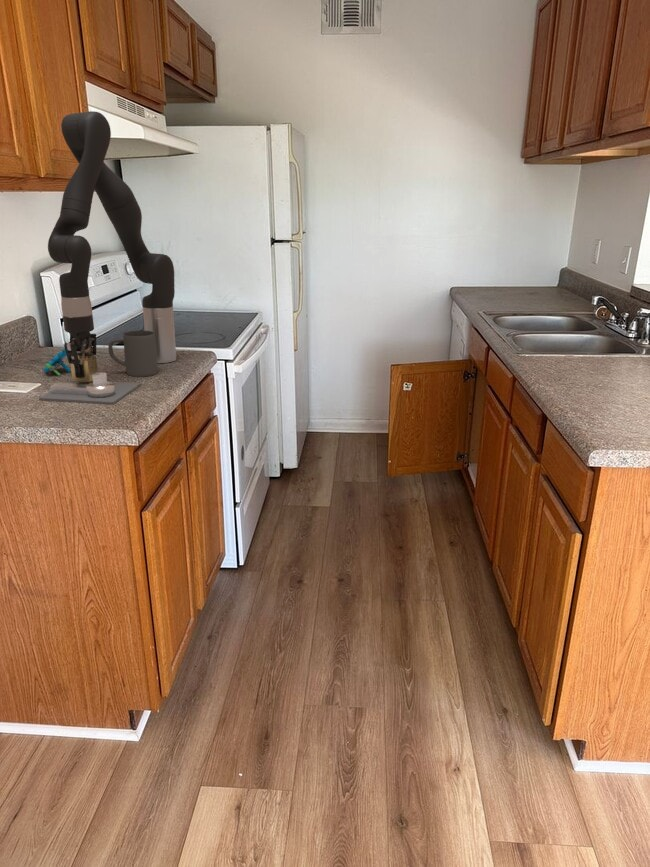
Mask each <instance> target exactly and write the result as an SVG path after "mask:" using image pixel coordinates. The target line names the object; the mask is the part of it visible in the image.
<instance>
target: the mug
mask: <svg viewBox="0 0 650 867" xmlns="http://www.w3.org/2000/svg"><path fill="white" fill-rule="evenodd" d="M122 337H123V338H115V339H114V338H113V339H112V340H109V342H108V353H109V356H110V358H111V359H112V360H113V361H114V362H115V363H117V364H119V365H121V366H124V367H125V369H126V374H127V375H128V376H130V377H135V378H136V377H137V378H143V377H150V376H154V375H156V374H158V372H159V371H158V370H159V368H158V367H159V366H158V363H157V350H156V339H155V333H154V332H152V331H145V329H143V330H142V329H141V330H132V331H131V330H130V331H126V332H123V336H122ZM116 343H123V350H124V361H122V360H120V359H119V358H118V357H117V355H115V354H114V350H113V349H114V348H113V345H114V344H116Z"/></svg>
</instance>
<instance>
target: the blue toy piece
mask: <svg viewBox="0 0 650 867" xmlns="http://www.w3.org/2000/svg"><path fill="white" fill-rule="evenodd" d="M65 357H67V355H66V351H65V347H64V348H63V349H62V350H61V351H59V352H58V353H57V354H56V355H55V356H53V357H52V358H51V360H50V361H49V362H47V363H45V365H44V368H43V371H44V372H45V373H47V372H54V373H55V374H56V375H57V376H59V377H60V376H61V373H60V372H59V371H58V370H57V369H58V368H59V367H62V368H63V369H64V370H66V372H68V373H70V372H71V367H69V366H68V365H66V364H65V361H64V359H65Z"/></svg>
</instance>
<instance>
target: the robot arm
mask: <svg viewBox="0 0 650 867" xmlns="http://www.w3.org/2000/svg"><path fill="white" fill-rule="evenodd" d="M60 127H61V133H62V136H63V139H64V141H65V143H66V145H67V147H68V148H69V150H70V151H71V154H72V155H73V157H74V158H75V160H76V161H77V163H78V166H77V167H76V169H75V171H74V173H73V174H72V175H71V177H70V179H69V181H68V182H67V184H66V186H65V188H64V191H63V195H62V200H61V207H60V213H59V217H58V219H57V220H56V223H55V224H54V227H53V229H52V231H51V234H50V236H49V239H48V241H47V251H48V252H47V253H48V255H49V256H50V258H51V260H52V261H54V262H56V263H60V264H71V267H70V268H71V269H70V271H69V272H64V273H62V274H60V275H59V278H58V280H59V289H60V290H59V291H60V296H61V297H60V298H61V300H60V302H61V303H60V306H61V313H62V321H63V330H64V332H66V333H68V334H69V341H68V342H64V344H63V347H64V348H65V351H66V355H67V356H66V358H67V361H68V364H74V368H75V376H76V377H77V378H83V377H84V369H83V356H96V355H97V334H96V333H91V332H92V331H94V329H95V324H94V317H93V316H94V315H93V308H92V302H91V296H90V290H89V281H88V280H89V279H88V278H89V273H90V267H91V261H92V248H91V245H90V243H89V241H88V240H87V239H86V238H85V236H83V235H75V234H76V232H79V231H82V230H85V229H87V227H88V225H89V223H90V216H91V210H92V203H93V197H94V194H95V193H96V195H97V197H98V199H99V201H100V203H101V205H102V207H103V209H104V211H105V213H106V215H107V217H108V219H109V220H110V222H111V224H112V226H113V227H114V229H115V232H116V234H117V236H118V238H119V240H120V242H121V244H122V246H123V248H124V250H125V253H126V255H127V258H128V260H129V264H130V267H132V268H131V269H132V270H133V273H134V275H135V277H136V278H137V280H139V281H140V282H141V283H144V284H149V285H152V287H151V293H149V294H147V295H145V296H143V297H142V301H141V302H142V304H141V305H142V316H143V325H144V326H143V328H144V329H143V330H144V331H152V332H154V333H155V339H156V350H157V364H166V363H167V364H168V363H171V362H172V363H173V362H175V361H176V360H177V348H176V336H175V335H176V333H175V332H176V331H175V319H174V318H175V316H174V303H173V302H174V300H175V299H174V298H175V266H174V262H173V261H172V258H171V257H170V256H168V254H165V253H154V252H153V253H152V252H150V250H148V248H147V245H146V243H145V242H144V240H143V237H142V219H143V217H142V216H143V215H142V210H141V206H140V205H139V203H138V201H137V199H136V197H135V194H134V193H133V191H132V189H131V188H130V186H129V185H128V184H127V183H126V182H125V181H124V180H123V179H122V178H121V177H120V176H119V175H117V173H115V172H114V171H113V170H112V169H111V168H110V167H109V166H108V165H107V164H106V162H105V158H106V155H107V152H108V149H109V146H110V143H111V137H112V131H111V126H110V122H109V121H108V119H107V118H106V117H105V115H104V114H103V113H101V112H98V111H91V110H90V111H84V112H83V111H82V112H76V113H69V114H66V115H64V117H63V118H62V120H61V126H60ZM94 192H95V193H94ZM78 356H79V358H78Z"/></svg>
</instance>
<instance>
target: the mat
mask: <svg viewBox="0 0 650 867" xmlns="http://www.w3.org/2000/svg"><path fill="white" fill-rule="evenodd" d="M107 382H110V381H109V380H107ZM111 382H112V383H114V385H115V395H113V396H110V397H106V398H91V397H88V396H86V395H68V394H51V391H48V393H46V394H43V395H42V396H40V397H39V398H38V401H46V402H47V401H48V402H49V401H50V402H65V403H66V402H67V403H81V404H82V403H83V404H85V403H86V404H99V405H115V404H116V403H117V402H119V401H121V400H122V399H124V398H125V397H127V396H128V395H129V394H131V393H132V392H134V391H135V390H136V389H138V388H139V387H141V386H142V382H124V381H111ZM67 383H75V384H90V383H93V381H91V382H78V381H73V380H70V381H68V382H67Z"/></svg>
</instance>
